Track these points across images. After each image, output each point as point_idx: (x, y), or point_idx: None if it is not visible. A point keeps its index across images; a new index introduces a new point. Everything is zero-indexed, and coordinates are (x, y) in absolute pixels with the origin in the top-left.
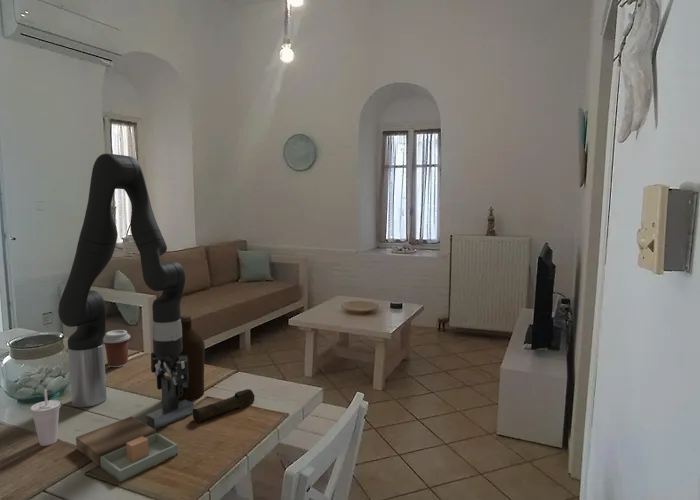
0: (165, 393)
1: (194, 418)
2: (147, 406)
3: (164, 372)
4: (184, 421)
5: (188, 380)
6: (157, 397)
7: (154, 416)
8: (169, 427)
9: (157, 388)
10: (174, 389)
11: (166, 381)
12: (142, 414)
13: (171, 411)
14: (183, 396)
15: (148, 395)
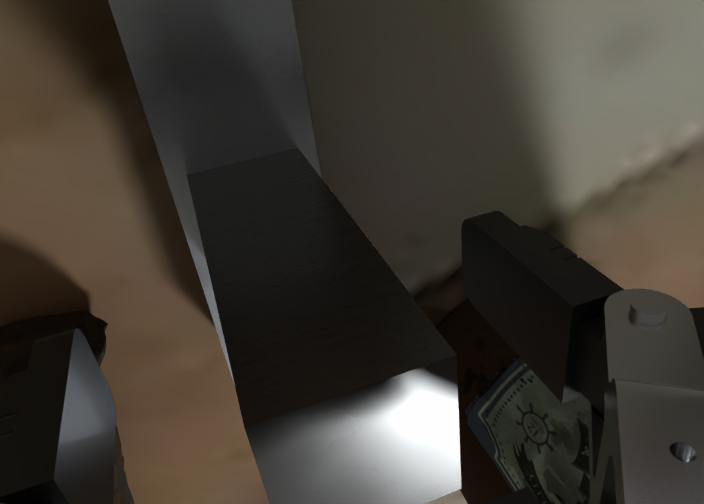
0: (267, 256)
1: (55, 326)
2: (564, 93)
3: (591, 430)
4: (113, 247)
5: (497, 464)
6: (622, 196)
7: (173, 17)
8: (66, 110)
9: (490, 212)
10: (46, 415)
11: (268, 400)
12: (475, 7)
13: (185, 202)
14: (458, 339)
15: (692, 156)
